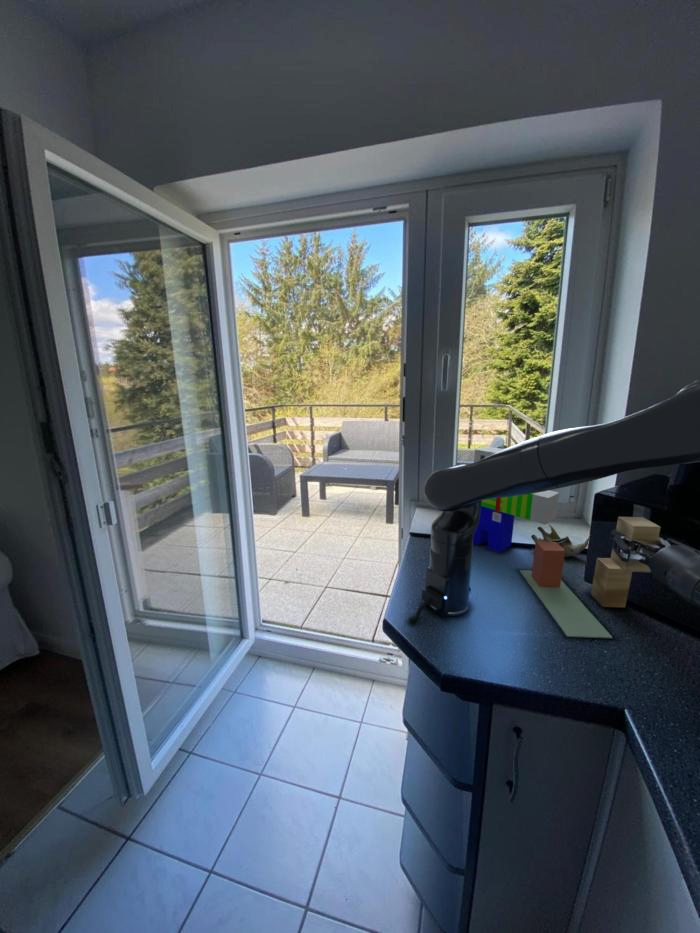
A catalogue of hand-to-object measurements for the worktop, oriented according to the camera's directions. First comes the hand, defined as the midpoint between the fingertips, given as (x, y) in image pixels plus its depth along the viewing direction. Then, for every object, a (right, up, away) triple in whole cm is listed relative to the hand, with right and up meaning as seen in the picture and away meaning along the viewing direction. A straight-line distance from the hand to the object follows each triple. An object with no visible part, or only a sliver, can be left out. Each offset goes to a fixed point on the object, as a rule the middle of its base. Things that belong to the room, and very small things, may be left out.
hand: (626, 534), depth 79 cm
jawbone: (+3, -12, +31) cm, 34 cm away
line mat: (-9, -17, +9) cm, 22 cm away
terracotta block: (-9, -15, +16) cm, 24 cm away
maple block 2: (0, -6, -1) cm, 7 cm away
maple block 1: (+2, -17, +8) cm, 19 cm away
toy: (-15, -10, +38) cm, 42 cm away
